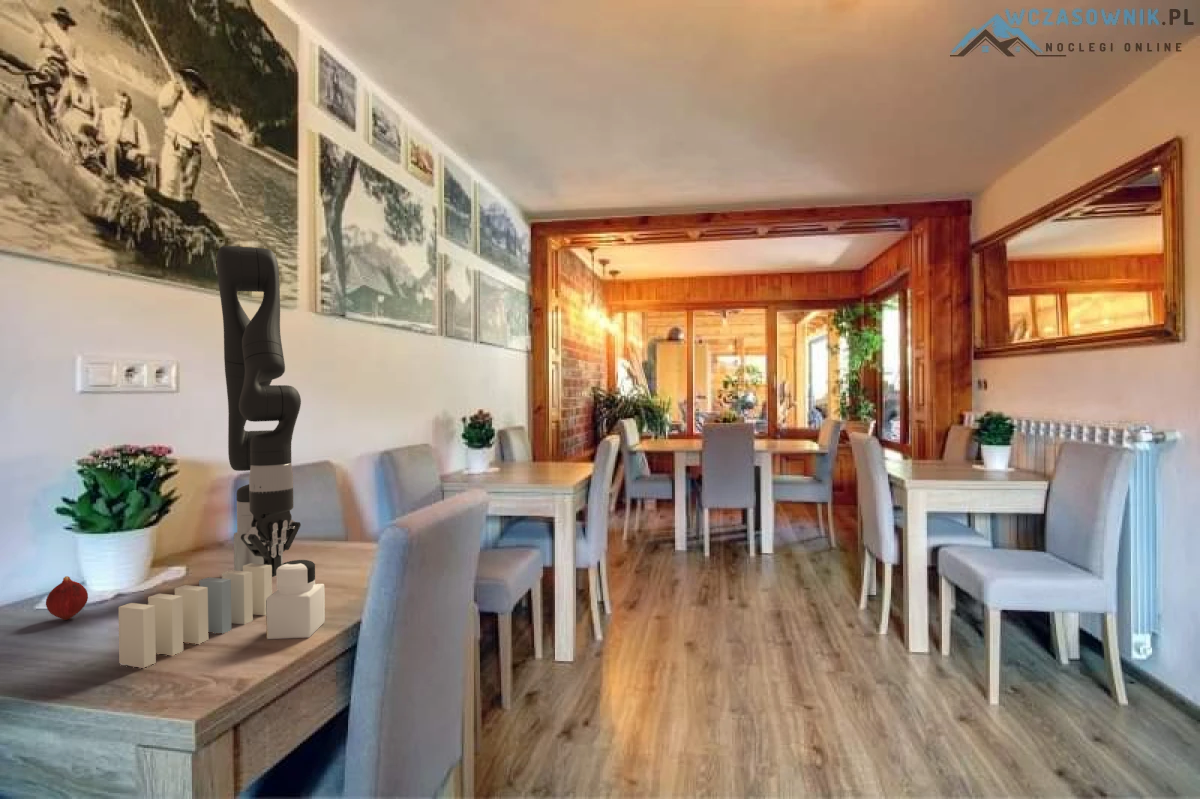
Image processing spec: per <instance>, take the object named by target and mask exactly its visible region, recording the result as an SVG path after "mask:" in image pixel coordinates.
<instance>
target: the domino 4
mask: <svg viewBox="0 0 1200 799" xmlns="http://www.w3.org/2000/svg"><path fill="white" fill-rule="evenodd" d="M198 586H200V587H208V632H214V633H213V634H216V633H222V634H221V635H224V634H226V633H225V632H227V633H229V632H231V631H232V623H231V579H222V577H210V576H209V577H205V578H202V579H199V581H198ZM230 630H231V631H230ZM228 631H229V632H228ZM223 633H224V634H223Z"/></svg>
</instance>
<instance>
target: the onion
mask: <svg viewBox="0 0 1200 799" xmlns="http://www.w3.org/2000/svg"><path fill="white" fill-rule="evenodd" d="M45 599H46V600H45V606H46V609H47V611H48V613H50V614H51V615H52V616H54V617H57V618H59V619H61V620H64V621H68V620H70V619H72V618H73V617H74V616H76V615H77V614H78V613H79V612H80V611H81V610H83V608H84V607H85V606H86V604H87V603H88V599H89V593H88V590H87V589H86V588H85V586H84V585H83V584H81V583H79V582H77V581H74V580H72V579H71V577H70V576H67V575H66V576H64V577H63V579H62V581H61V582H60V583H59V584H57V585H56V586H54V588H52V589H51V591H50V592H49V593H48V595H47V597H46V598H45Z"/></svg>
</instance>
